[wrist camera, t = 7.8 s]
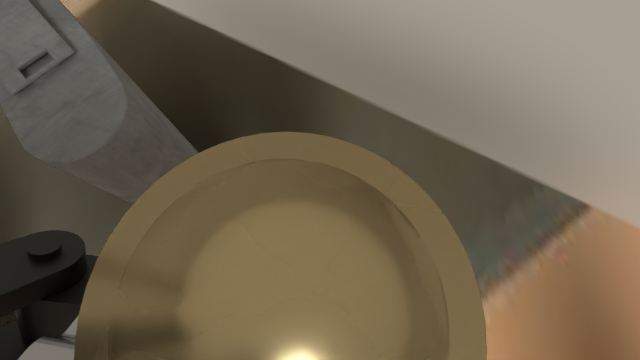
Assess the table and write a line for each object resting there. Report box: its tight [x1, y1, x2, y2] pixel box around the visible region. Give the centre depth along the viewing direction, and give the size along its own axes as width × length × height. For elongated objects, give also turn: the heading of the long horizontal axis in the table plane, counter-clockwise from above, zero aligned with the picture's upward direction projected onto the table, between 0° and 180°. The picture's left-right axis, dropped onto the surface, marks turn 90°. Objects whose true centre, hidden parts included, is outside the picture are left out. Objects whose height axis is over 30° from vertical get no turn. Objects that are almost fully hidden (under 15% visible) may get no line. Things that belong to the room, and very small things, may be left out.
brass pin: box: [74, 132, 487, 360], centre depth 10 cm, size 5×5×12 cm
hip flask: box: [0, 0, 198, 204], centre depth 19 cm, size 16×4×20 cm, turn 48°
